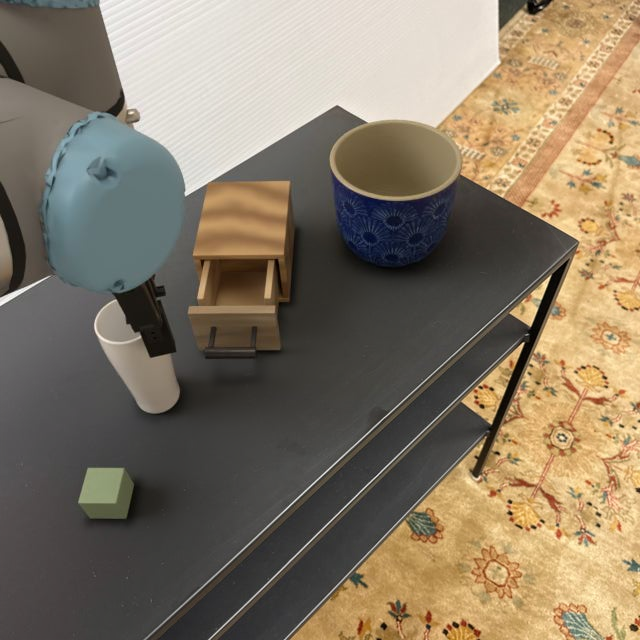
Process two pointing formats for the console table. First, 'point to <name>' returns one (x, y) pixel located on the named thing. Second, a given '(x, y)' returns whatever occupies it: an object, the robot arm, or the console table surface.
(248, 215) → the cabinet
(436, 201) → the planter
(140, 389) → the drinking glass
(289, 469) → the console table surface
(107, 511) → the block
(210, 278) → the drawer
